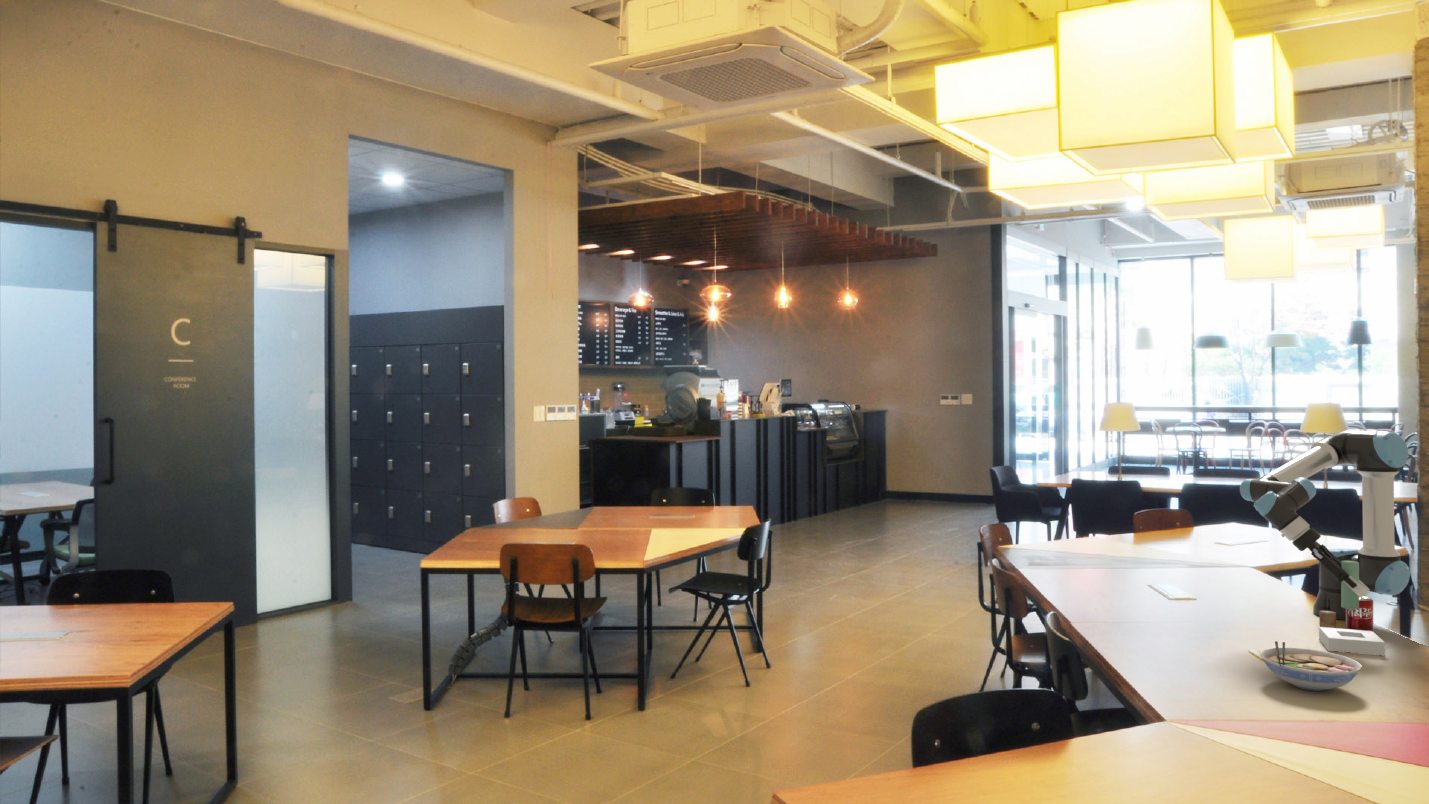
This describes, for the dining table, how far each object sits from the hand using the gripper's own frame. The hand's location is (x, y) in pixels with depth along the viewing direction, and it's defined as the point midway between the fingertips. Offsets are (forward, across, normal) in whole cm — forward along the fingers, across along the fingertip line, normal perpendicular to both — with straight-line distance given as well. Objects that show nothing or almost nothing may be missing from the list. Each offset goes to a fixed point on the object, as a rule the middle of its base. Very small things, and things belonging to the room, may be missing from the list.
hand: (1365, 593), depth 279 cm
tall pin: (+1, 0, -6) cm, 6 cm away
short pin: (+4, -15, -20) cm, 25 cm away
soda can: (+10, -19, -14) cm, 26 cm away
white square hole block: (+9, 0, -14) cm, 17 cm away
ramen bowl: (+6, +51, -19) cm, 55 cm away
